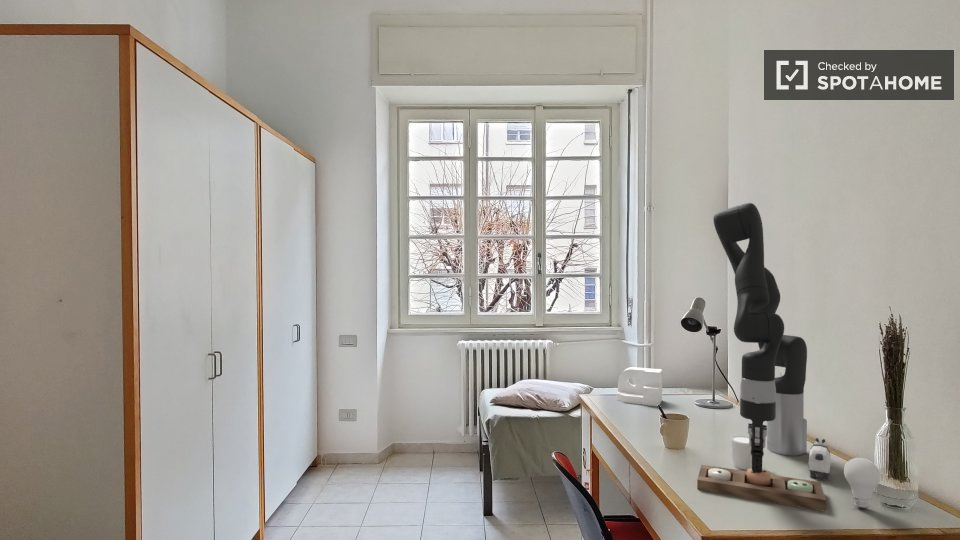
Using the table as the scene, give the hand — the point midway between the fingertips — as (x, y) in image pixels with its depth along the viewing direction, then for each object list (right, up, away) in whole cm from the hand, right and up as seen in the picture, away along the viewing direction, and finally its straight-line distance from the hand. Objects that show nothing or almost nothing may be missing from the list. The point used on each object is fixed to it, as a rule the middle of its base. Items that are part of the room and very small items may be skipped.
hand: (756, 470), depth 133 cm
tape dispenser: (-4, -4, +84) cm, 85 cm away
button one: (-7, -4, +4) cm, 9 cm away
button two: (+8, -4, -4) cm, 10 cm away
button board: (0, -5, 0) cm, 5 cm away
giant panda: (+22, -5, +12) cm, 25 cm away
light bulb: (+18, -5, -9) cm, 21 cm away
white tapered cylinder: (+5, -5, +17) cm, 18 cm away
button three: (0, -2, 0) cm, 2 cm away
